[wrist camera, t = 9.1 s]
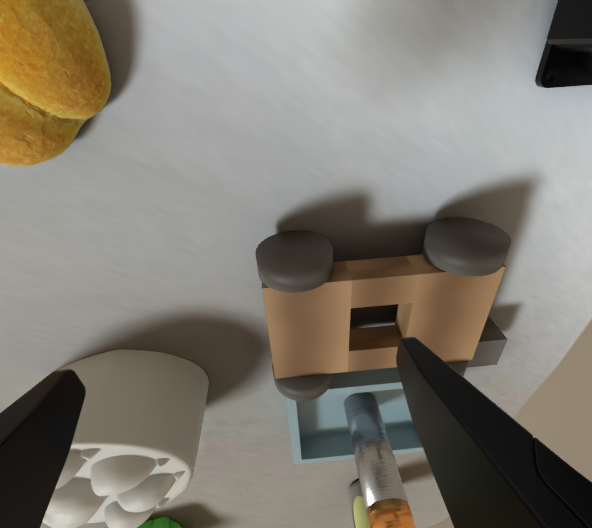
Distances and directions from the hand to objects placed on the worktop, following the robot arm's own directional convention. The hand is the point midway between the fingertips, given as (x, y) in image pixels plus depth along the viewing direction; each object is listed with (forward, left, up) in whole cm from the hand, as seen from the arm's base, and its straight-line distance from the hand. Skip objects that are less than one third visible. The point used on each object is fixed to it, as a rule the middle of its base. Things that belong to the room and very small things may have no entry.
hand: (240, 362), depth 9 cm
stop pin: (-7, +20, -11) cm, 24 cm away
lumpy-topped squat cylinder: (+12, +17, -12) cm, 24 cm away
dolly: (-8, +8, -12) cm, 17 cm away
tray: (-7, +20, -12) cm, 24 cm away
